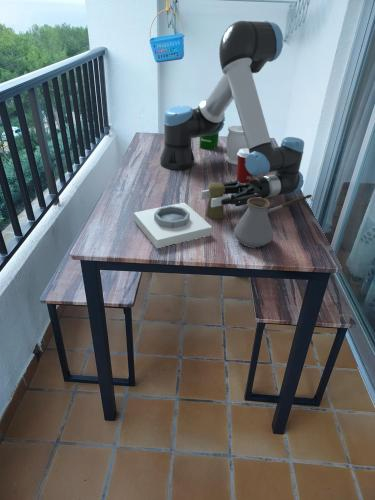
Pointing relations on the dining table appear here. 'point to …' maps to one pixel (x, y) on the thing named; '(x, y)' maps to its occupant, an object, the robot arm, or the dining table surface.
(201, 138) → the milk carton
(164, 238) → the base plate
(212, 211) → the cork
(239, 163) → the paper cup
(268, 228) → the coffee pot
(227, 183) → the robot arm
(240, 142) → the jar
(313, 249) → the dining table surface
